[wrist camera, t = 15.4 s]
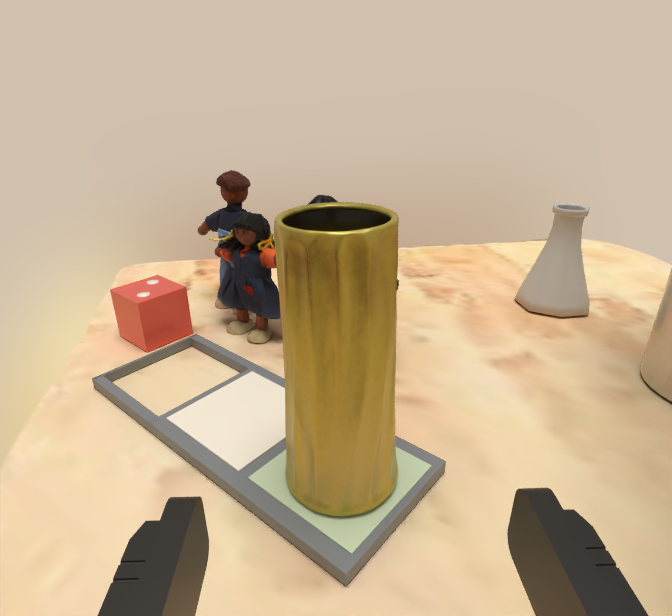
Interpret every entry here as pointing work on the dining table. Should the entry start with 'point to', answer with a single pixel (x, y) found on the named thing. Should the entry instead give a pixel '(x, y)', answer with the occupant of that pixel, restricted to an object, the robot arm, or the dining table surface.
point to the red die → (152, 312)
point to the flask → (559, 268)
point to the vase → (339, 353)
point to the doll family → (246, 259)
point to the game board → (270, 459)
